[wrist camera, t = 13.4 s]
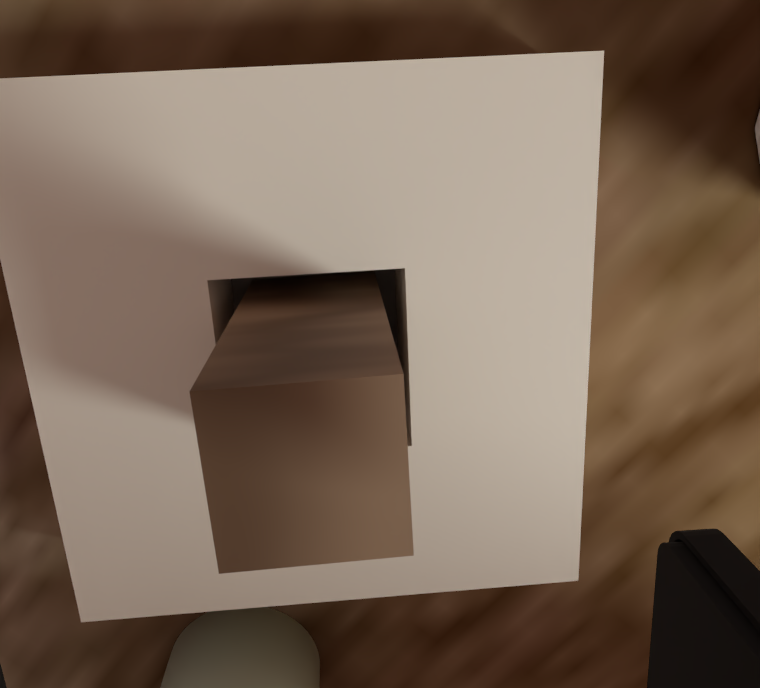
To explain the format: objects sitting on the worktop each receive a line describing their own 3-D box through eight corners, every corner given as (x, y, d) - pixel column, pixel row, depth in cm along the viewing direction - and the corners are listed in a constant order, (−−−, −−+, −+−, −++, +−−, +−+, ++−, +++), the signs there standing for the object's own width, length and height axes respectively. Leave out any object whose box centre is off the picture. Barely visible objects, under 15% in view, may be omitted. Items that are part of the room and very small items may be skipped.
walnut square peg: (373, 270, 22) (403, 373, 13) (381, 383, 23) (413, 555, 14) (252, 279, 22) (189, 391, 12) (266, 392, 23) (218, 574, 14)
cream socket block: (554, 66, 21) (604, 50, 17) (542, 514, 26) (578, 580, 22) (31, 90, 20) (-40, 80, 16) (119, 547, 25) (81, 622, 21)
